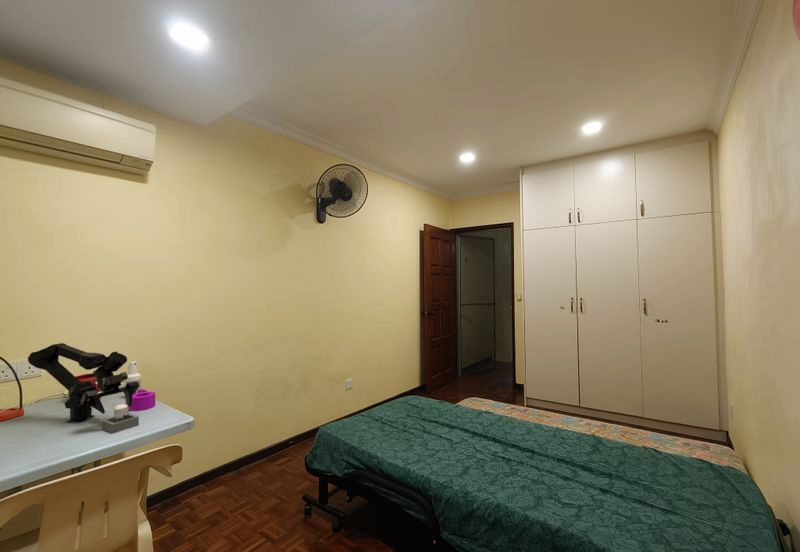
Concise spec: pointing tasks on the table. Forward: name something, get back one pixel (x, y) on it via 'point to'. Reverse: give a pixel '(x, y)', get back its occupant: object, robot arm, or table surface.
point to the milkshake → (120, 412)
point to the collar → (120, 423)
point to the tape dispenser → (142, 400)
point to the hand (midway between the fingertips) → (117, 409)
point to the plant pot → (88, 379)
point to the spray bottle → (133, 375)
